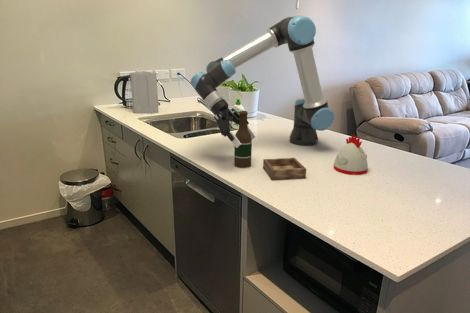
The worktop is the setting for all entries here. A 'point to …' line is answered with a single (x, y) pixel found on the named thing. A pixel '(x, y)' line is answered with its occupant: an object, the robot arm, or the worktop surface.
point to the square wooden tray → (284, 168)
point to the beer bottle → (243, 143)
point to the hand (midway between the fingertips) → (246, 142)
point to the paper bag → (144, 92)
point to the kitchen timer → (351, 158)
